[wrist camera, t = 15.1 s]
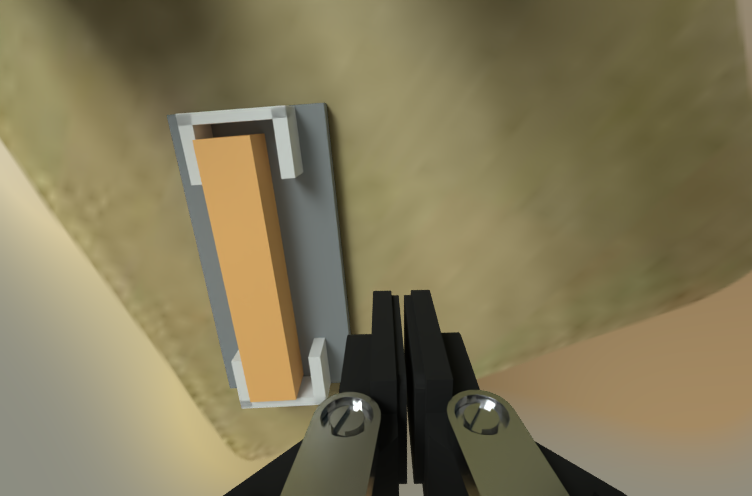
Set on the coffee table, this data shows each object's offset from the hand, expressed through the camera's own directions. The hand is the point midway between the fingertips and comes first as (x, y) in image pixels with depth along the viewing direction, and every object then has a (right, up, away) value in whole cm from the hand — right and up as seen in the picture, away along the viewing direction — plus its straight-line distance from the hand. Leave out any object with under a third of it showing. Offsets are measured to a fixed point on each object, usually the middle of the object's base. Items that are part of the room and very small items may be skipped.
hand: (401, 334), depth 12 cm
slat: (-10, +1, +22) cm, 24 cm away
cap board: (-10, +2, +23) cm, 25 cm away
